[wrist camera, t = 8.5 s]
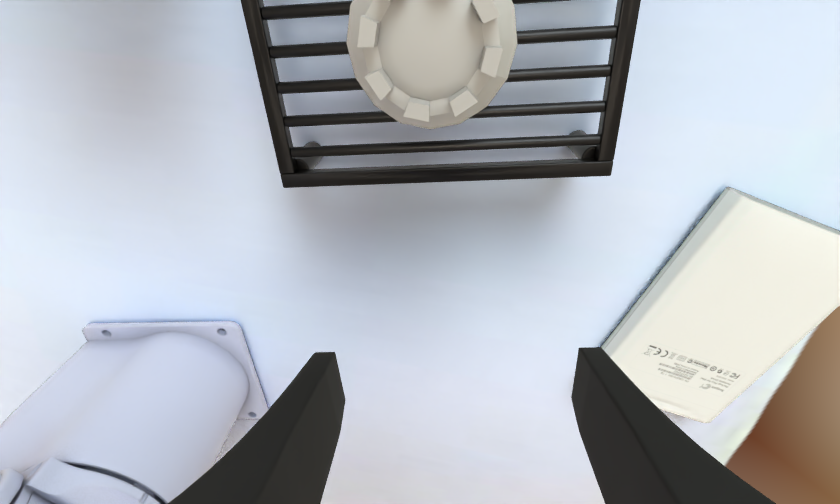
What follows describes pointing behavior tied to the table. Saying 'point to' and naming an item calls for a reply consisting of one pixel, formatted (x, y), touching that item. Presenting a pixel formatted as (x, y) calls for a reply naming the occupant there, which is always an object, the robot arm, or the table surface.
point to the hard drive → (728, 305)
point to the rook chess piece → (431, 56)
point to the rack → (587, 148)
